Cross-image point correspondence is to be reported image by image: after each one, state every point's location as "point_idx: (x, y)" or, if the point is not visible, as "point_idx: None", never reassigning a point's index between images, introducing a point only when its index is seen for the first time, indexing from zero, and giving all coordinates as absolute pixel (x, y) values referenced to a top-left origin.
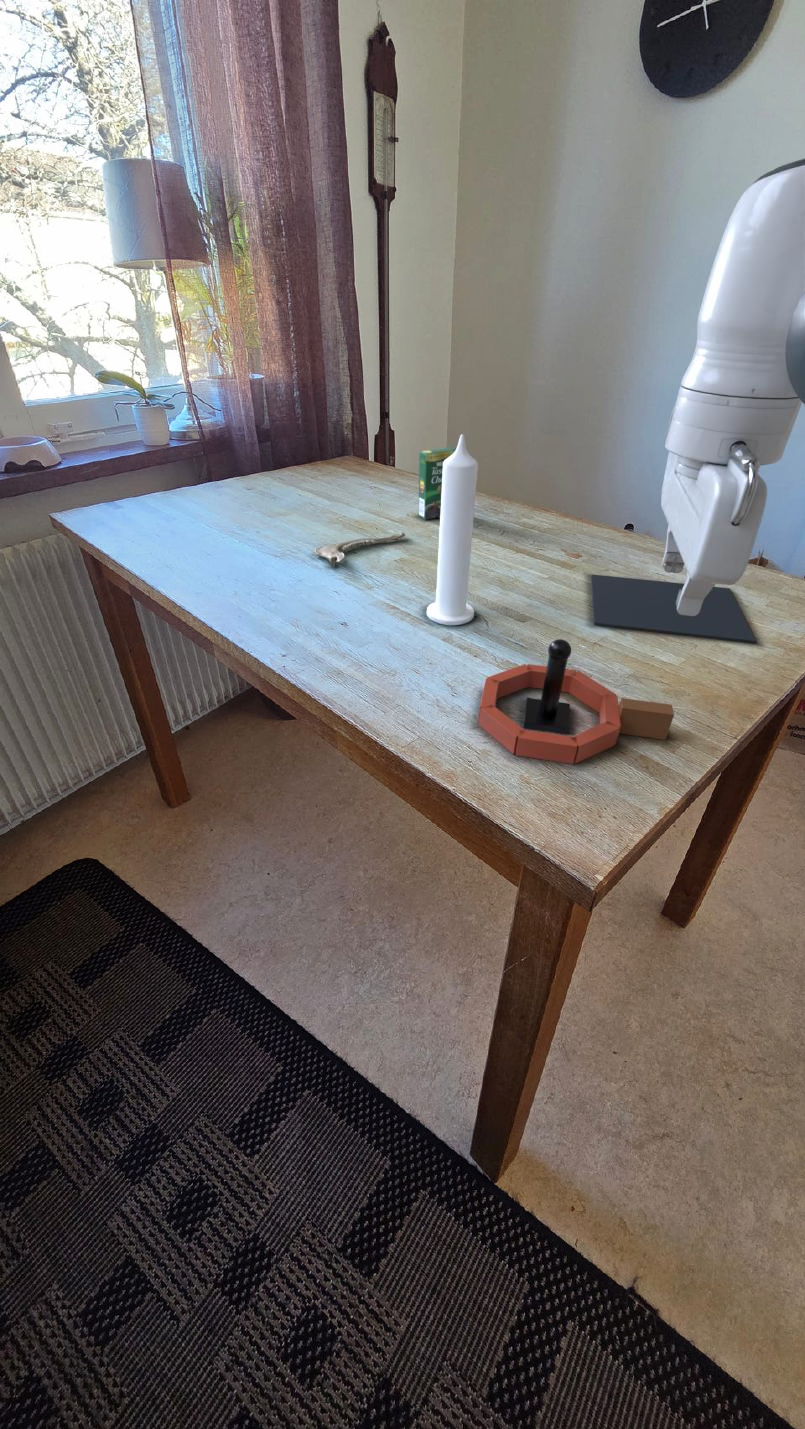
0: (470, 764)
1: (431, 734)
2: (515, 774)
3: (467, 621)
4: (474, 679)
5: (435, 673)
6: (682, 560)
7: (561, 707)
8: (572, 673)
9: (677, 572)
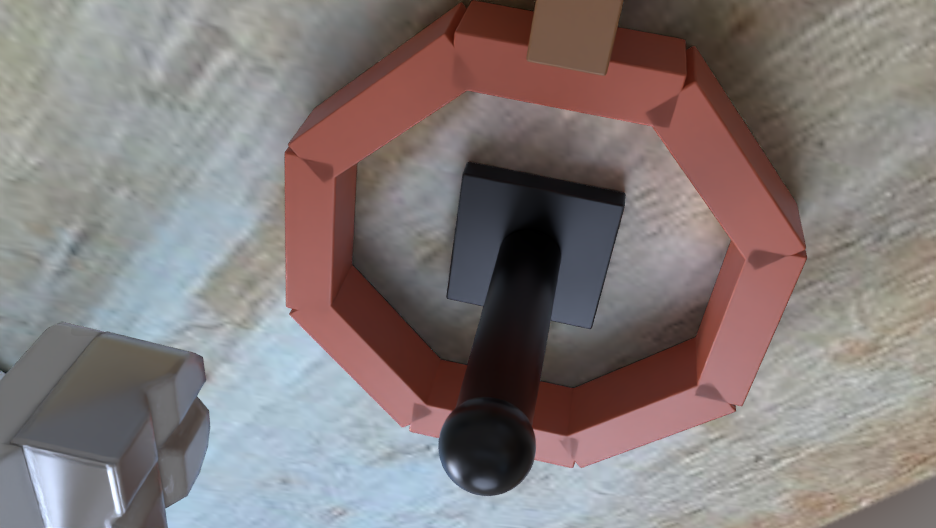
0: (770, 459)
1: (632, 517)
2: (828, 370)
3: (2, 375)
4: (341, 396)
5: (333, 477)
6: (144, 456)
7: (492, 206)
8: (314, 172)
9: (201, 370)
